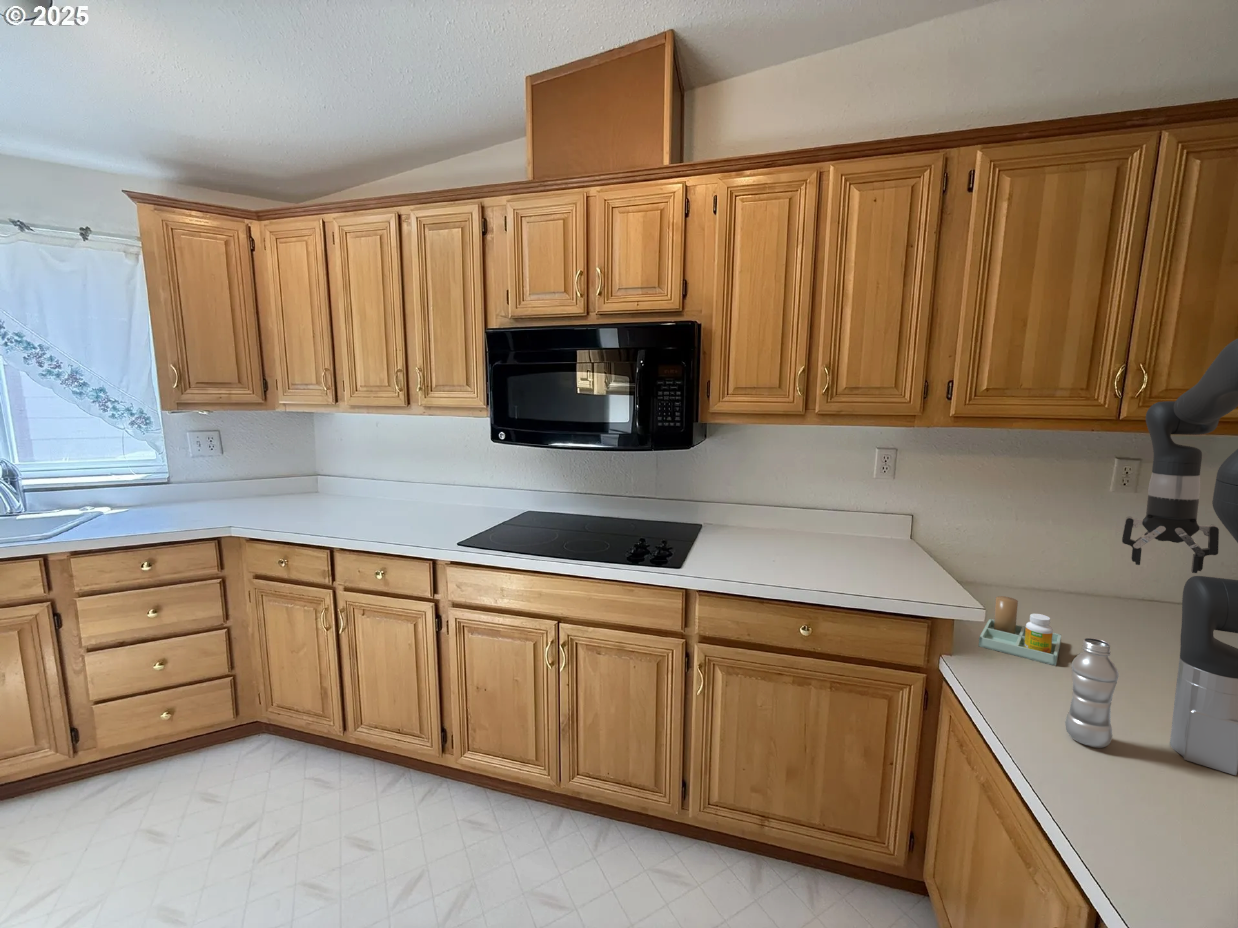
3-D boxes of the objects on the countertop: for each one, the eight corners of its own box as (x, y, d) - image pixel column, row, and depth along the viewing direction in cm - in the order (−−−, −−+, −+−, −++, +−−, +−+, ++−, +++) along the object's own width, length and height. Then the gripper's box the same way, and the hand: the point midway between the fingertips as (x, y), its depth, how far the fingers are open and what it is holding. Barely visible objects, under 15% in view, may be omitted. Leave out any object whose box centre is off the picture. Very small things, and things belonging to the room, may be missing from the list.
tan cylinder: (1014, 639, 141) (1016, 604, 140) (992, 634, 144) (994, 599, 143) (1016, 633, 144) (1018, 599, 143) (995, 628, 147) (997, 594, 146)
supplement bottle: (1026, 655, 132) (1029, 618, 131) (1021, 646, 137) (1024, 610, 136) (1053, 659, 130) (1056, 622, 128) (1047, 650, 134) (1050, 614, 133)
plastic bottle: (1063, 726, 104) (1071, 631, 102) (1109, 739, 100) (1119, 640, 98) (1064, 743, 99) (1073, 643, 97) (1113, 757, 95) (1123, 653, 93)
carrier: (1055, 665, 128) (1056, 656, 127) (978, 646, 138) (979, 637, 138) (1060, 643, 139) (1061, 634, 139) (988, 626, 150) (989, 618, 150)
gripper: (1127, 493, 114) (1120, 565, 116) (1226, 501, 104) (1217, 579, 106) (1126, 489, 119) (1119, 558, 121) (1220, 496, 109) (1212, 570, 111)
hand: (1165, 568), depth 113 cm, fingers open, 8 cm apart
